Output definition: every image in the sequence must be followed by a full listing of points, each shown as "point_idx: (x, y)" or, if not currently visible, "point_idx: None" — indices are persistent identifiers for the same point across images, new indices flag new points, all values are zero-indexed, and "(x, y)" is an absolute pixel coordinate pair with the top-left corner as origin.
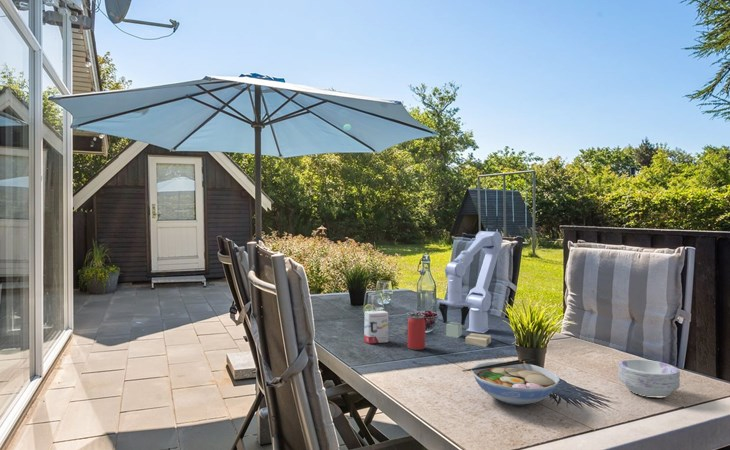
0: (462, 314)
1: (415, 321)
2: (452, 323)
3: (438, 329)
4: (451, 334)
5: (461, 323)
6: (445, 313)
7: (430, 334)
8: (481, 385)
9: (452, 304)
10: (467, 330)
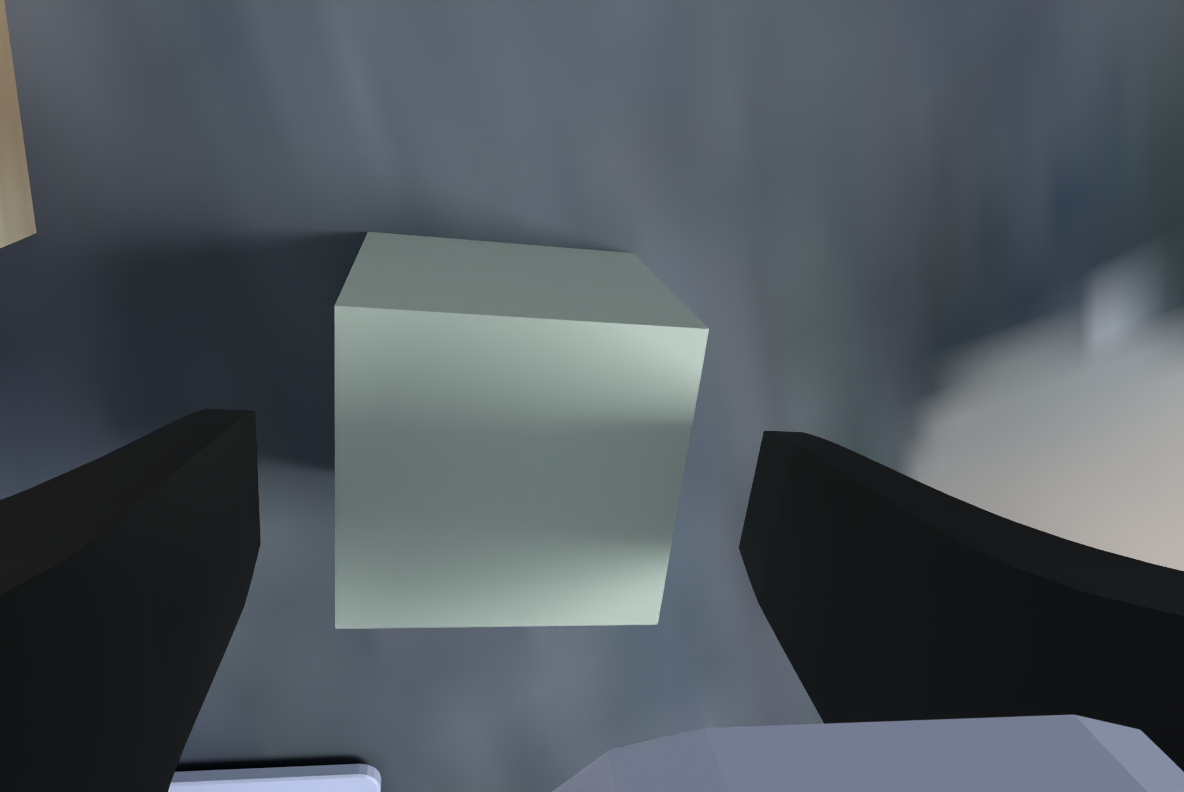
0: (16, 550)
1: None
2: (571, 518)
3: None
4: (521, 256)
5: (232, 416)
6: (897, 646)
7: (946, 242)
8: None
9: (731, 734)
10: (347, 772)
